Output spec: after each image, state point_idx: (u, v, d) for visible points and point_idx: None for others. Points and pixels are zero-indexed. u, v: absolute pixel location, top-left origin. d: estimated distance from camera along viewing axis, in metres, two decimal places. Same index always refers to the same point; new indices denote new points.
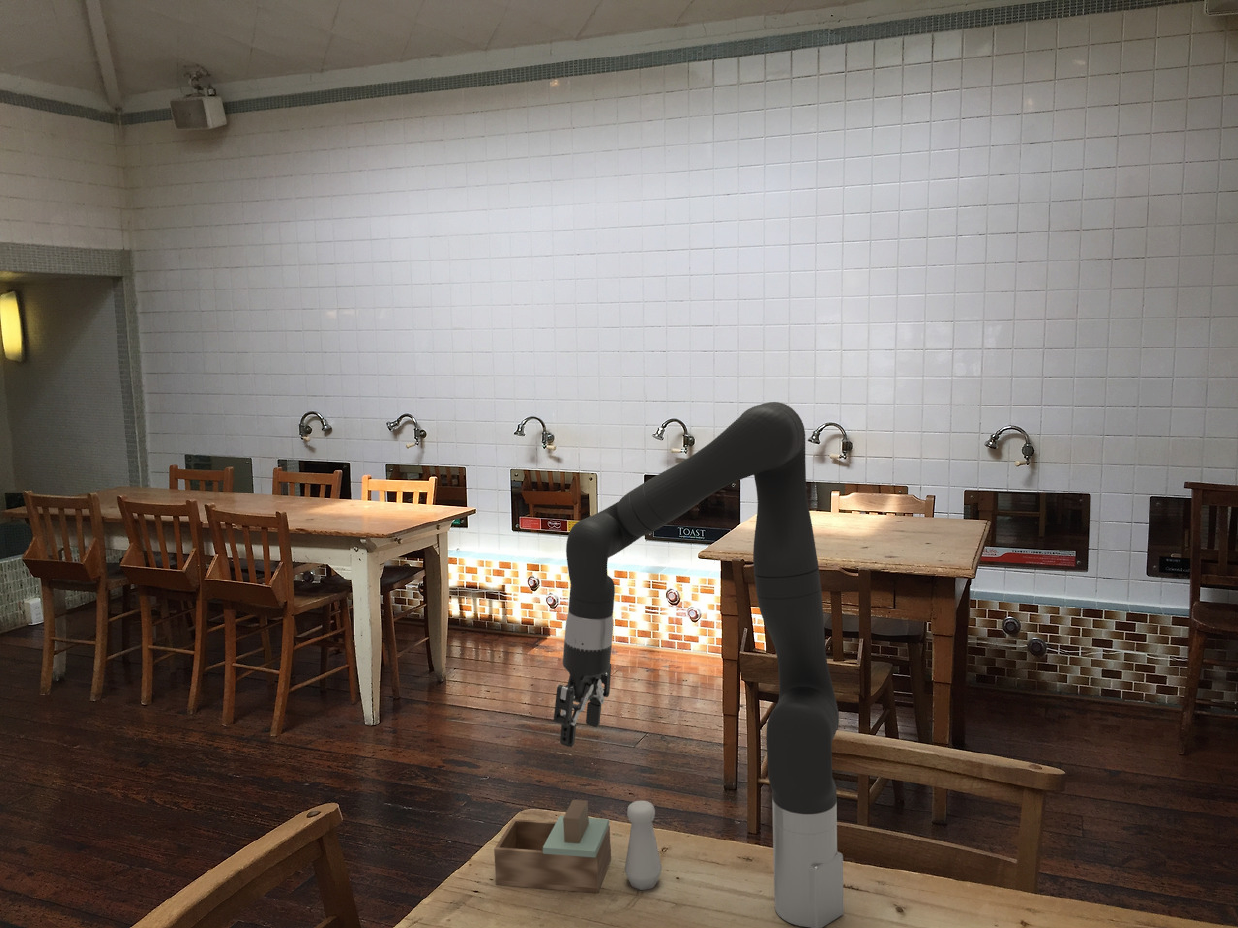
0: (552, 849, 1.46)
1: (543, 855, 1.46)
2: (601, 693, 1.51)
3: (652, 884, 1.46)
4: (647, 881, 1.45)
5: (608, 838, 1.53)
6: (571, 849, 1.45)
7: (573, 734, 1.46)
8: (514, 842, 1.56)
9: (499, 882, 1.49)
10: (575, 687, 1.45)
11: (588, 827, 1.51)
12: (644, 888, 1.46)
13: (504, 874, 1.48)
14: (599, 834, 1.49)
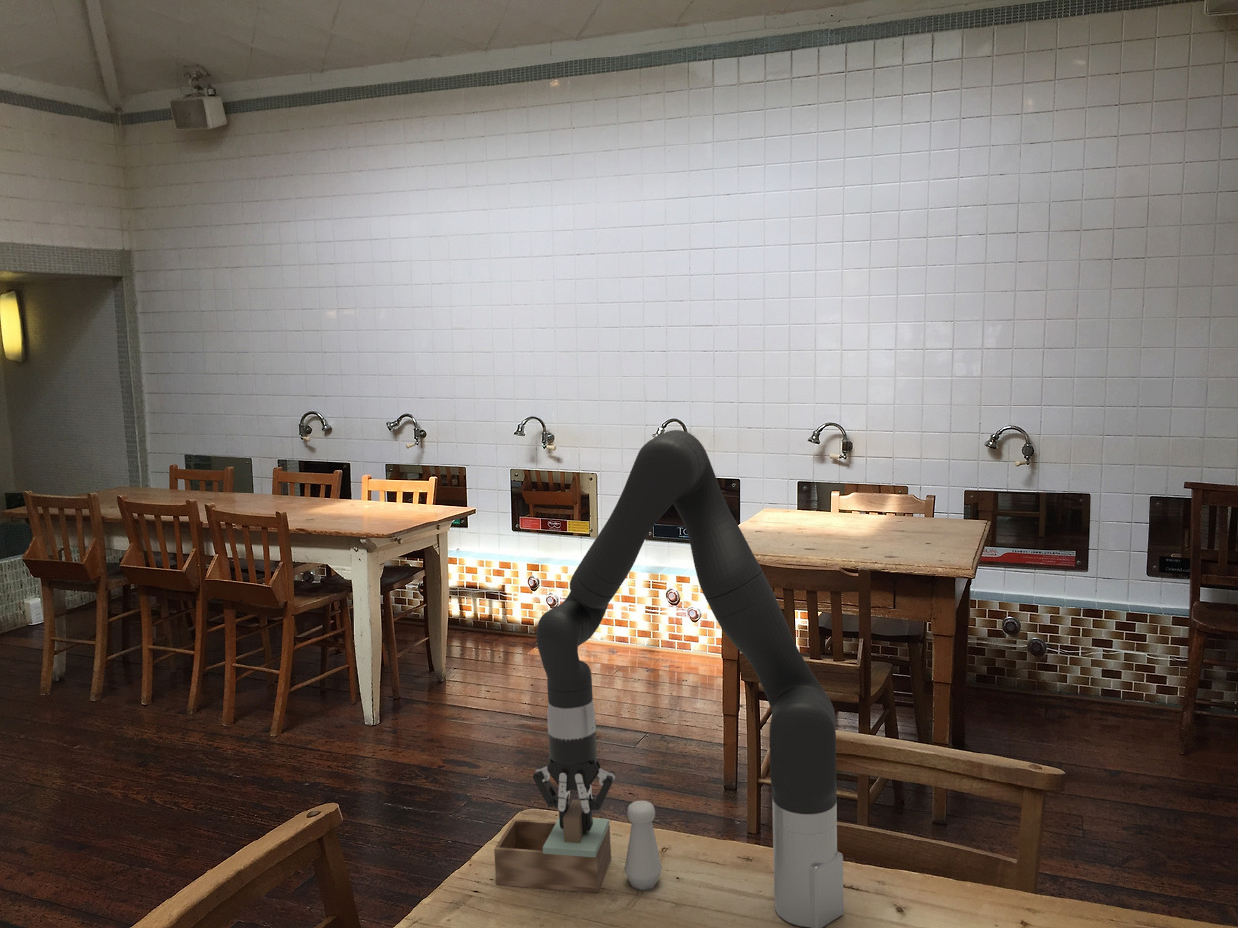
0: (552, 849, 1.46)
1: (543, 855, 1.46)
2: (581, 794, 1.47)
3: (652, 884, 1.46)
4: (647, 881, 1.45)
5: (608, 838, 1.53)
6: (571, 849, 1.45)
7: None
8: (514, 842, 1.56)
9: (499, 882, 1.49)
10: (547, 770, 1.49)
11: None
12: (644, 888, 1.46)
13: (504, 874, 1.48)
14: (599, 834, 1.49)
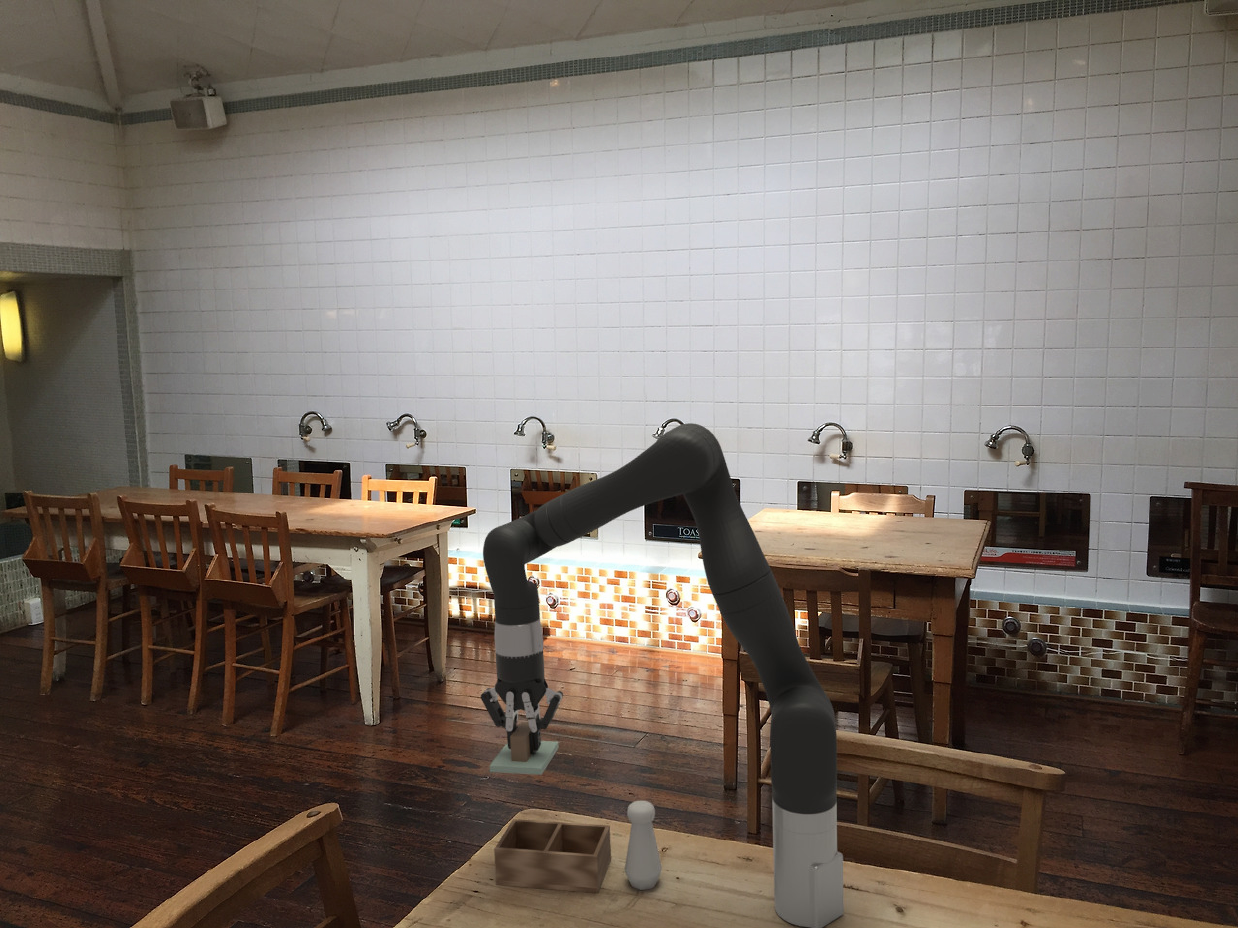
0: (498, 767, 1.46)
1: (543, 855, 1.46)
2: (528, 713, 1.47)
3: (652, 884, 1.46)
4: (647, 881, 1.45)
5: (608, 838, 1.53)
6: (517, 767, 1.45)
7: None
8: (514, 842, 1.56)
9: (499, 882, 1.49)
10: None
11: None
12: (644, 888, 1.46)
13: (504, 874, 1.48)
14: (546, 754, 1.49)
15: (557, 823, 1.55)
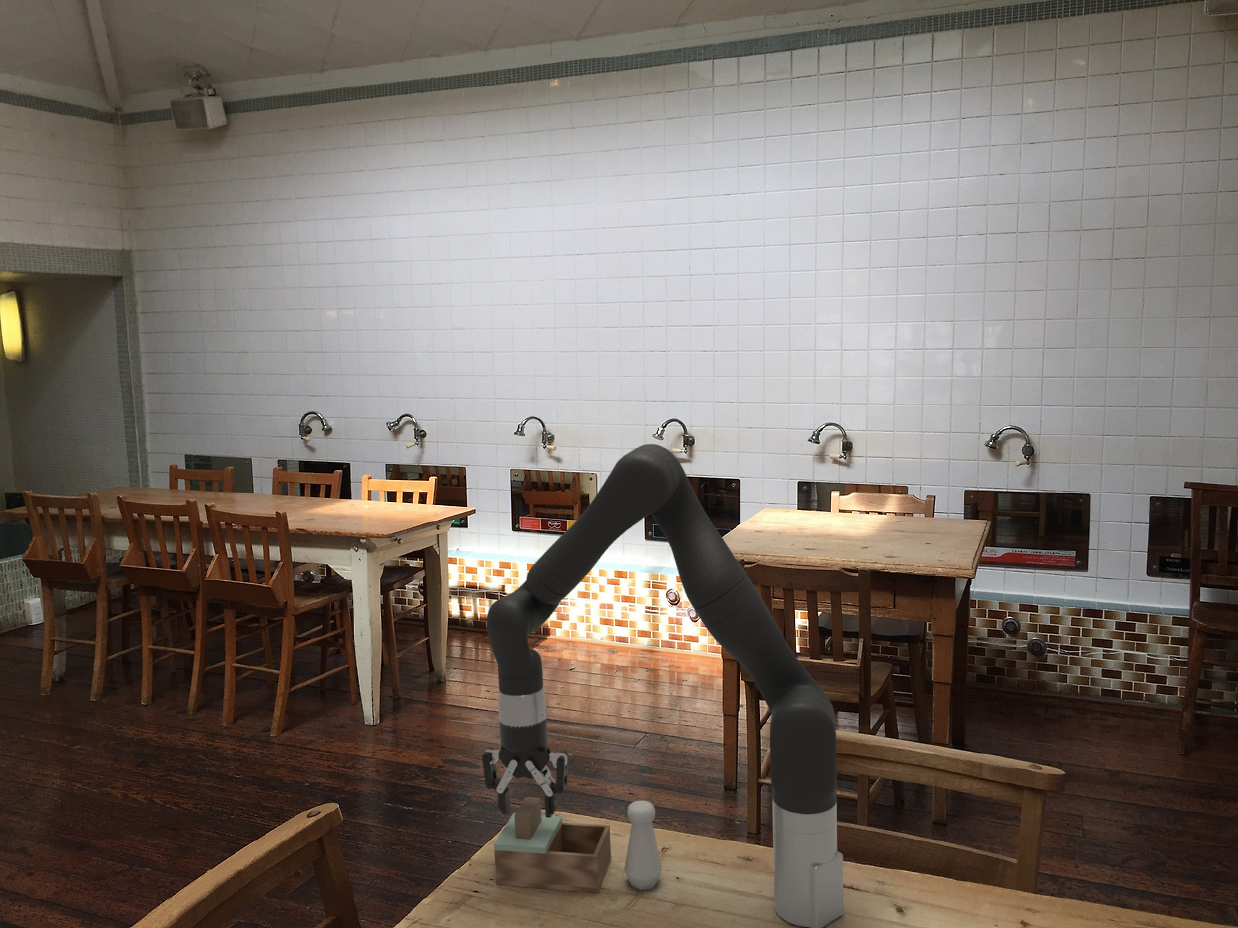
0: (503, 845, 1.47)
1: (543, 855, 1.46)
2: (538, 780, 1.48)
3: (652, 884, 1.46)
4: (647, 881, 1.45)
5: (608, 838, 1.53)
6: (522, 845, 1.47)
7: (502, 802, 1.51)
8: None
9: (499, 882, 1.49)
10: (498, 755, 1.50)
11: (540, 824, 1.53)
12: (644, 888, 1.46)
13: (504, 874, 1.48)
14: (550, 831, 1.51)
15: None
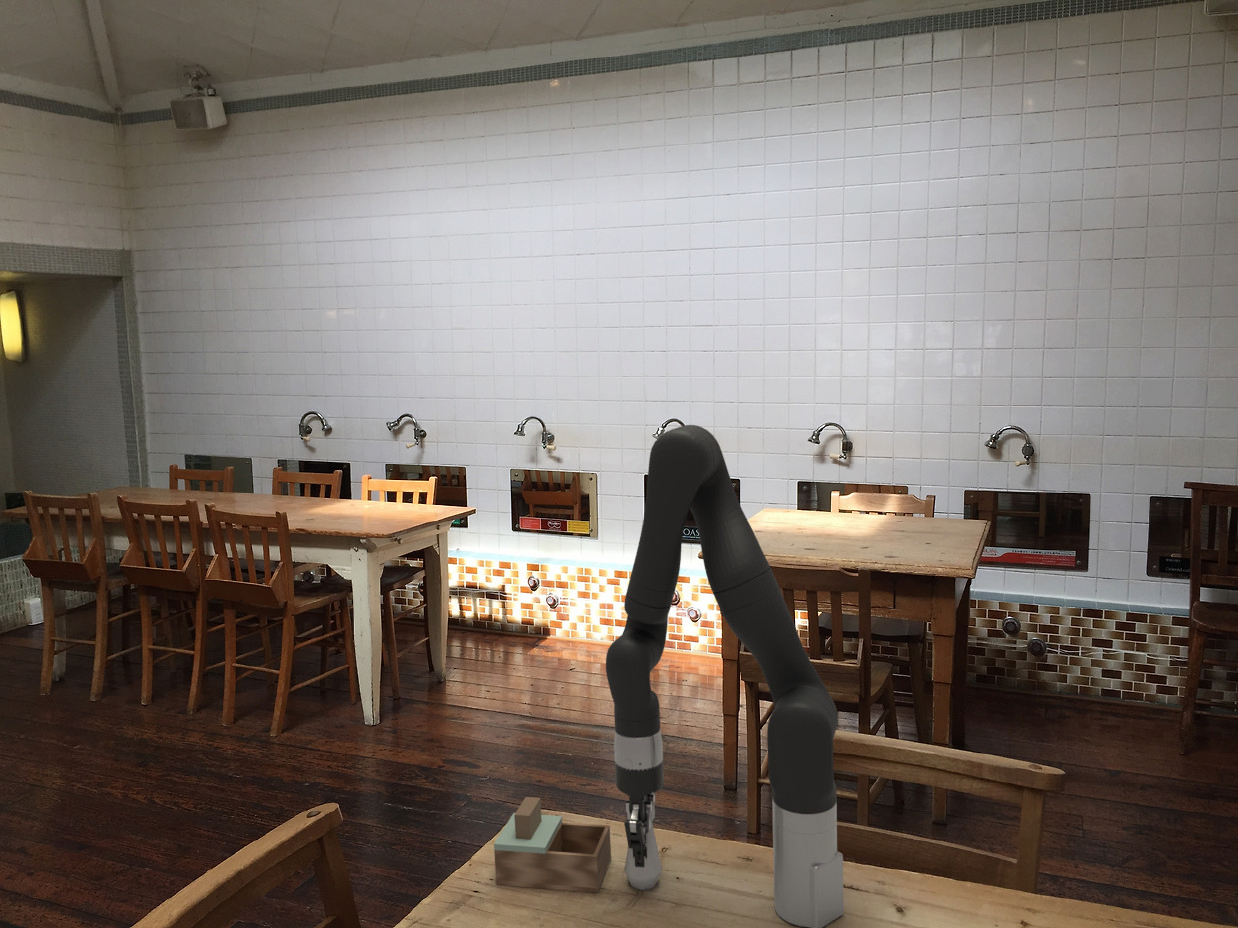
0: (503, 845, 1.47)
1: (543, 855, 1.46)
2: None
3: (652, 884, 1.46)
4: (647, 881, 1.45)
5: (608, 838, 1.53)
6: (522, 845, 1.47)
7: (646, 855, 1.45)
8: None
9: (499, 882, 1.49)
10: (639, 812, 1.42)
11: (540, 824, 1.53)
12: (644, 888, 1.46)
13: (504, 874, 1.48)
14: (550, 831, 1.51)
15: None
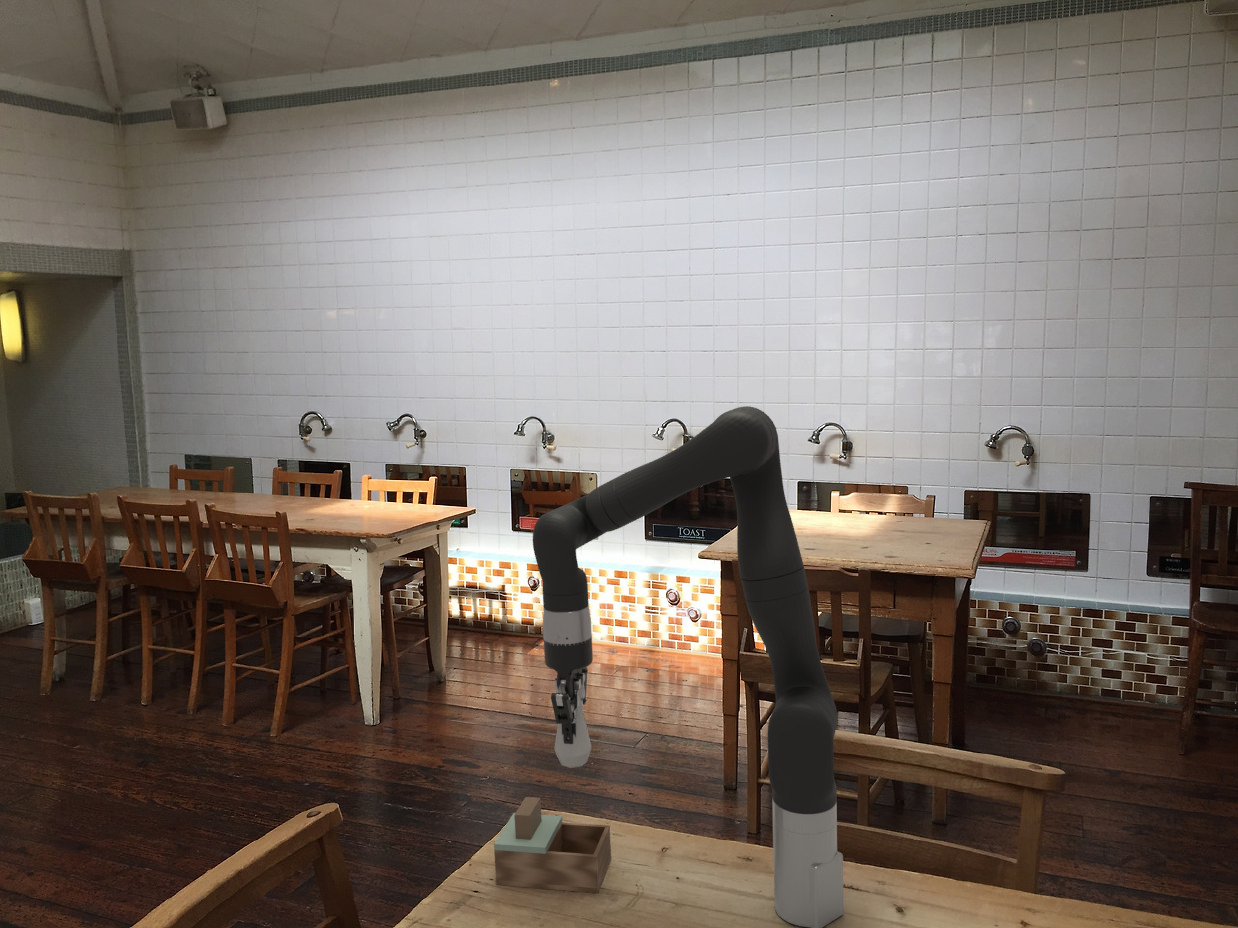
0: (503, 845, 1.47)
1: (543, 855, 1.46)
2: None
3: (581, 762, 1.46)
4: (575, 758, 1.46)
5: (608, 838, 1.53)
6: (522, 845, 1.47)
7: (575, 732, 1.46)
8: None
9: (499, 882, 1.49)
10: (566, 687, 1.43)
11: (540, 824, 1.53)
12: (573, 766, 1.46)
13: (504, 874, 1.48)
14: (550, 831, 1.51)
15: None
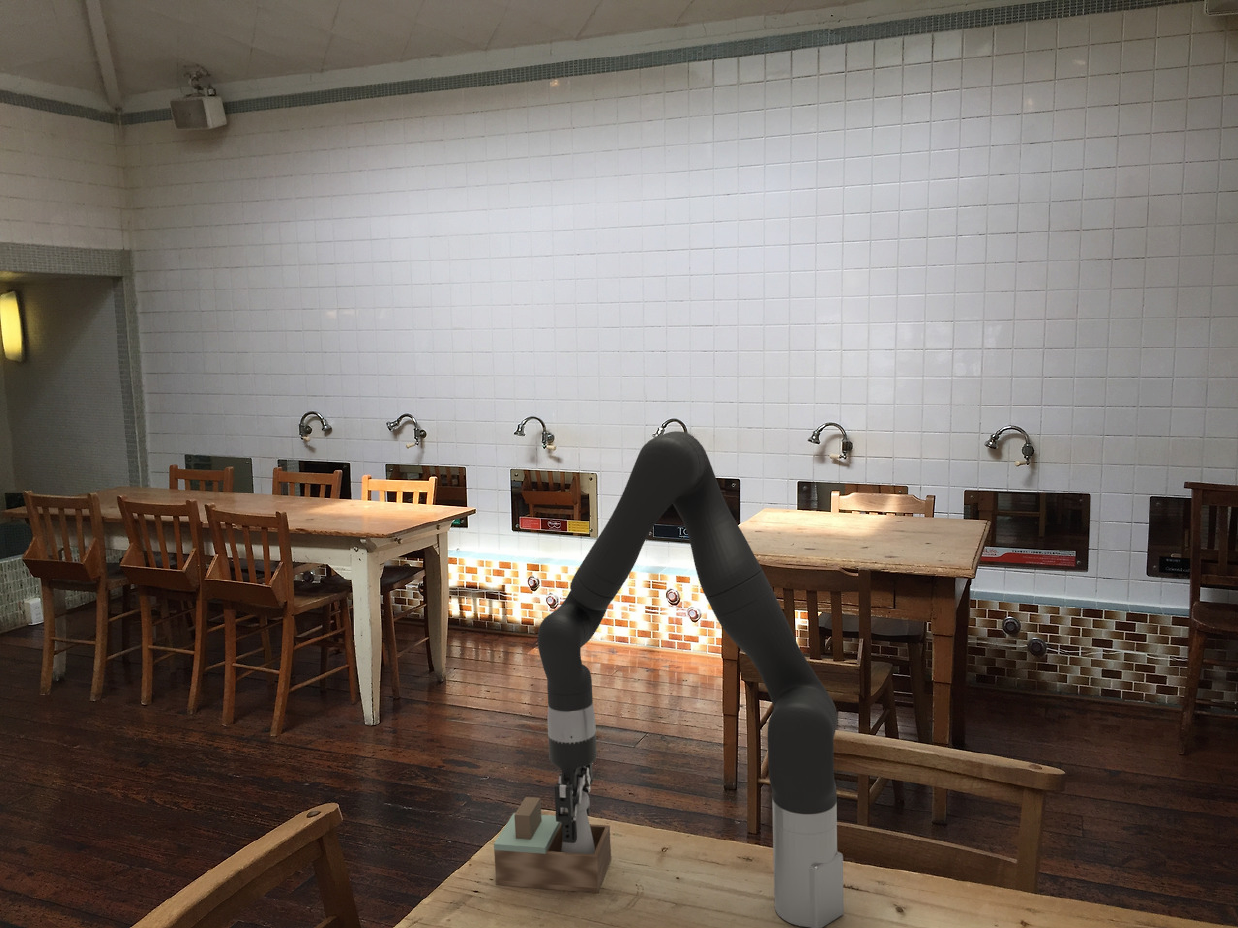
0: (503, 845, 1.47)
1: (543, 855, 1.46)
2: (589, 781, 1.52)
3: None
4: None
5: (608, 838, 1.53)
6: (522, 845, 1.47)
7: (575, 829, 1.45)
8: None
9: (499, 882, 1.49)
10: (570, 782, 1.44)
11: (540, 824, 1.53)
12: None
13: (504, 874, 1.48)
14: (550, 831, 1.51)
15: None
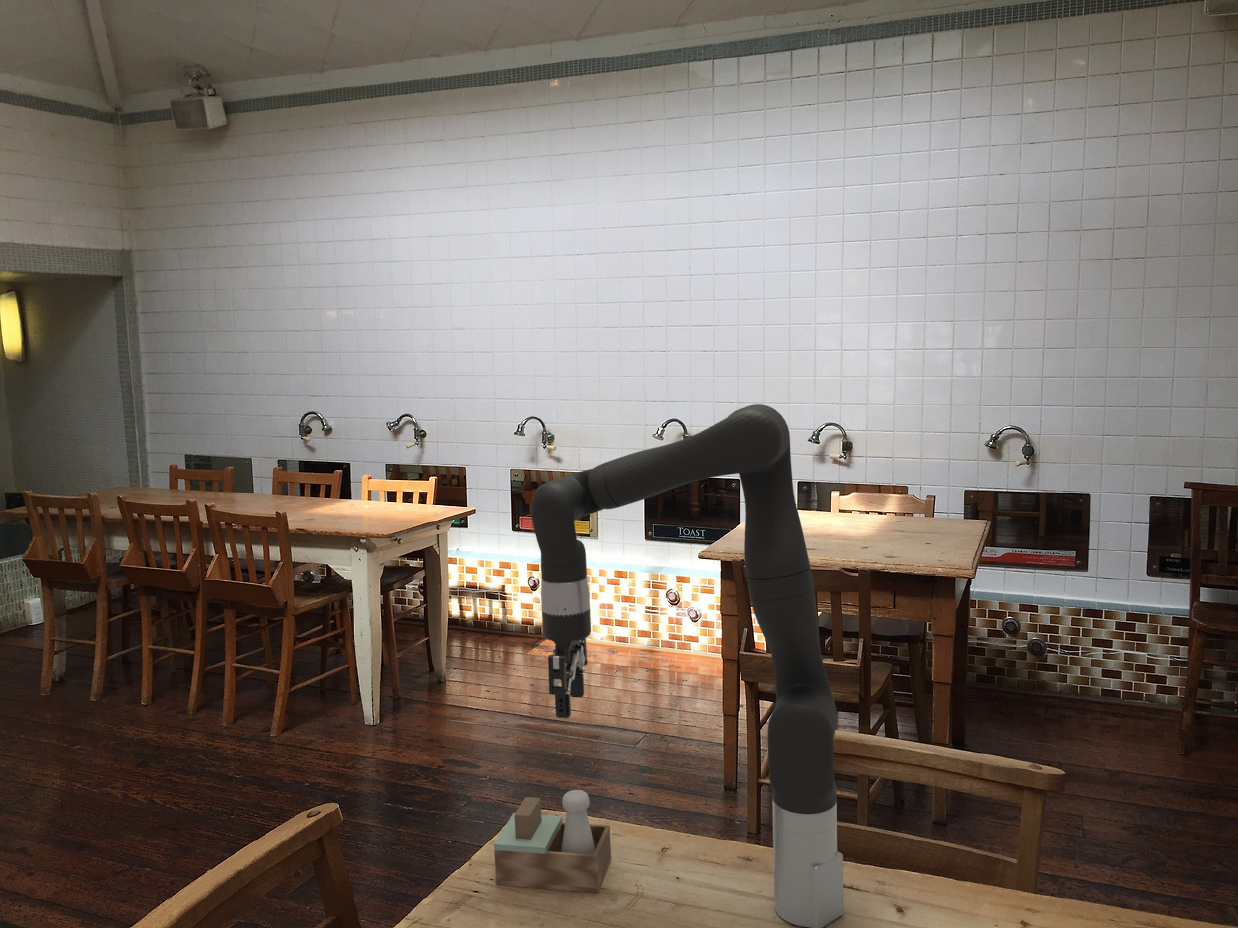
0: (503, 845, 1.47)
1: (543, 855, 1.46)
2: (583, 660, 1.49)
3: None
4: None
5: (608, 838, 1.53)
6: (522, 845, 1.47)
7: (569, 704, 1.43)
8: None
9: (499, 882, 1.49)
10: (564, 655, 1.42)
11: (540, 824, 1.53)
12: None
13: (504, 874, 1.48)
14: (550, 831, 1.51)
15: None
